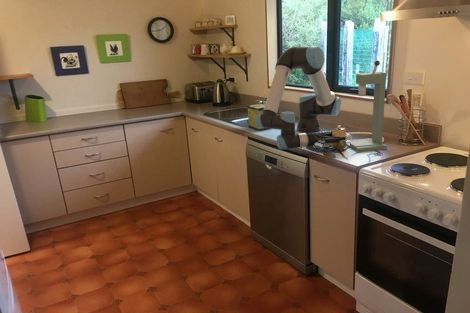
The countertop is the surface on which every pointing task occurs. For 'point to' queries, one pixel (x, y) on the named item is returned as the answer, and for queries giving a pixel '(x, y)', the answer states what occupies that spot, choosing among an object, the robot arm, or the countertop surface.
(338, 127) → the housing
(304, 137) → the robot arm
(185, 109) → the countertop surface
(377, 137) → the arbor press
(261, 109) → the protein box
